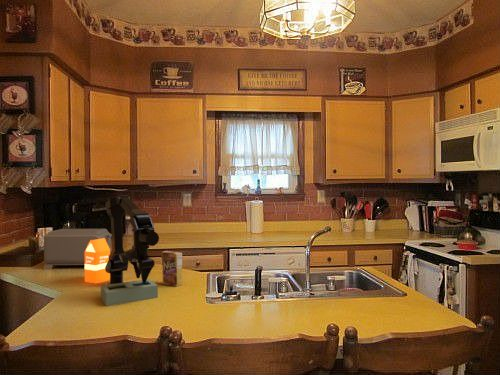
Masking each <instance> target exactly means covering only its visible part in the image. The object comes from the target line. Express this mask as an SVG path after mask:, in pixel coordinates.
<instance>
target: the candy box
mask: <svg viewBox="0 0 500 375" xmlns="http://www.w3.org/2000/svg"><path fill="white" fill-rule="evenodd" d="M161 255H162V256H161V258H162V260H161V262H162V266H161V269H162V270H161V271H162V284H163V285H165V286H166V285H167V286H173V287H176V288H177V287H180V286H182V285H183V252H181V251H172V250H171V251H170V250H165V251H162V252H161Z"/></svg>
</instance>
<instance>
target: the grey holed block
mask: <svg viewBox="0 0 500 375" xmlns="http://www.w3.org/2000/svg"><path fill="white" fill-rule="evenodd" d="M123 282H124V283H116V284H104V285H103V284H101V285H100V299H101V300H102V302H103V303H104V304H105V306H107V307H109V306H115V305H120V304H126V303H127V304H128V303H134V302H141V301H145V300H146V301H147V300H151V299H152V300H153V299H158V297H159V291H158V290H159V288H158V286H159V285H158V284H157V283H155V282H154V281H153V280H151V279H150V278H147V280H146V282H145V283H143V282H142V279H140V280H139V279H138V280H133V281H123ZM145 284H146V285H145ZM138 285H142V286H138ZM134 286H135V287H134ZM117 288H122V289H117ZM110 289H115V290H110Z"/></svg>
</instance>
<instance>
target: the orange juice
mask: <svg viewBox="0 0 500 375" xmlns="http://www.w3.org/2000/svg"><path fill="white" fill-rule="evenodd" d="M109 255H110V249H109V247H108V244H107V242H106V240H105V238H103V239H96V240H90V242H89V244H88V246H87V248H86V250H85V265H84V282H85V283H91V284H98V283H99V284H100V283H102V282H105V281H110V273H107V272H106V271H105V266H106V264H107V262H108V260H109Z"/></svg>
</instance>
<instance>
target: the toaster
mask: <svg viewBox="0 0 500 375" xmlns="http://www.w3.org/2000/svg"><path fill="white" fill-rule="evenodd" d="M47 232H48V233H47V234H46V235H44V236H43V260H44V262H45V264H44V266H43V268H42V271H43V270H45V271H48V270H53V269H55V267H56V266H85V250H86V248H87V246H88V244H89V242H90V240H96V239H103V238H105V240H106V242H107V244H108V247H109V249H110V253H111V251H112V234H111V233H110V231H108V229H107V228H60V229H55V230H52V231H51V230H50V231H47Z"/></svg>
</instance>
